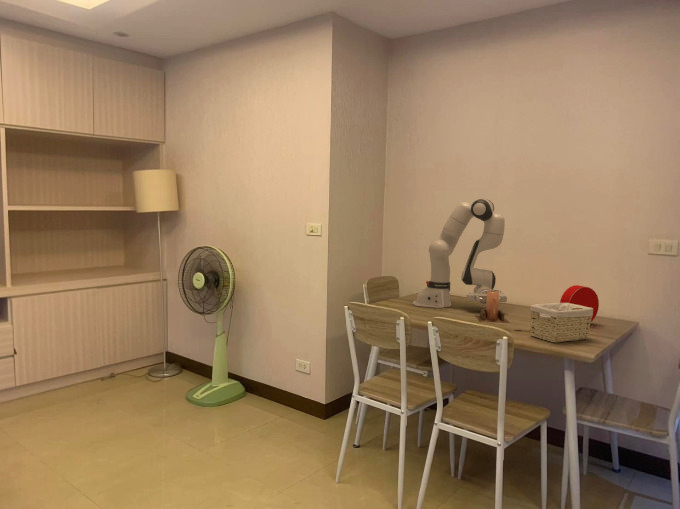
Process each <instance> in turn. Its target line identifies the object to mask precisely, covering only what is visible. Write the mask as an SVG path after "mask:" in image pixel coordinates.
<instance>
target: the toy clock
mask: <svg viewBox="0 0 680 509" xmlns="http://www.w3.org/2000/svg"><path fill="white" fill-rule="evenodd" d="M559 303H570V304H575V305H580V306H585V307H589V308H593V316H592V318H591V323H592V322H593V321H594V320H595V319H596V316H597V314H598V311H599V307H600V300H599V296H598V294H597V292H596V291H595V290H594V289H593V288H591V287H588V286H584V285H583V286H582V285H578V284H577V285H572V286H569V287H568V288H567V289H566V290H565V291H564V292H563V294H562V295H561V298H560V301H559Z"/></svg>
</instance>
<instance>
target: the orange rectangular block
mask: <svg viewBox="0 0 680 509" xmlns="http://www.w3.org/2000/svg"><path fill="white" fill-rule="evenodd" d="M499 304H500V302H499V292H496V291H487V304H485V305H486V306H485V307H486V308H485V309H486V319H487V320H498V310H499Z"/></svg>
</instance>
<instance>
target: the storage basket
mask: <svg viewBox="0 0 680 509" xmlns="http://www.w3.org/2000/svg"><path fill="white" fill-rule="evenodd" d="M529 309H530V312H529V314H530V336H532V337H535V338H538V339H541V340H544V341H548V342H551V343H562V342H563V343H564V342H568V341H569V342H573V341H574V342H575V341H580V340H581V341H582V340H587V339H589V332H590V329H591V328H590V326H591V323H592V322H591V318H592V316H593V308H589V307H585V306H580V305H575V304H570V303H560V302H555V303H554V302H552V303H537V304H531V305H530V308H529Z"/></svg>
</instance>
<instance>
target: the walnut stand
mask: <svg viewBox="0 0 680 509" xmlns="http://www.w3.org/2000/svg"><path fill="white" fill-rule="evenodd" d="M474 317H475V318H476V320H477V321H478V322H479V323H498V324H500V323H501V324H511V323H510V321H509V320H508V319H506V317H505V312H503V311H502V310H501V309H498V320H487V319H486V308H479V315H474Z"/></svg>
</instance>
